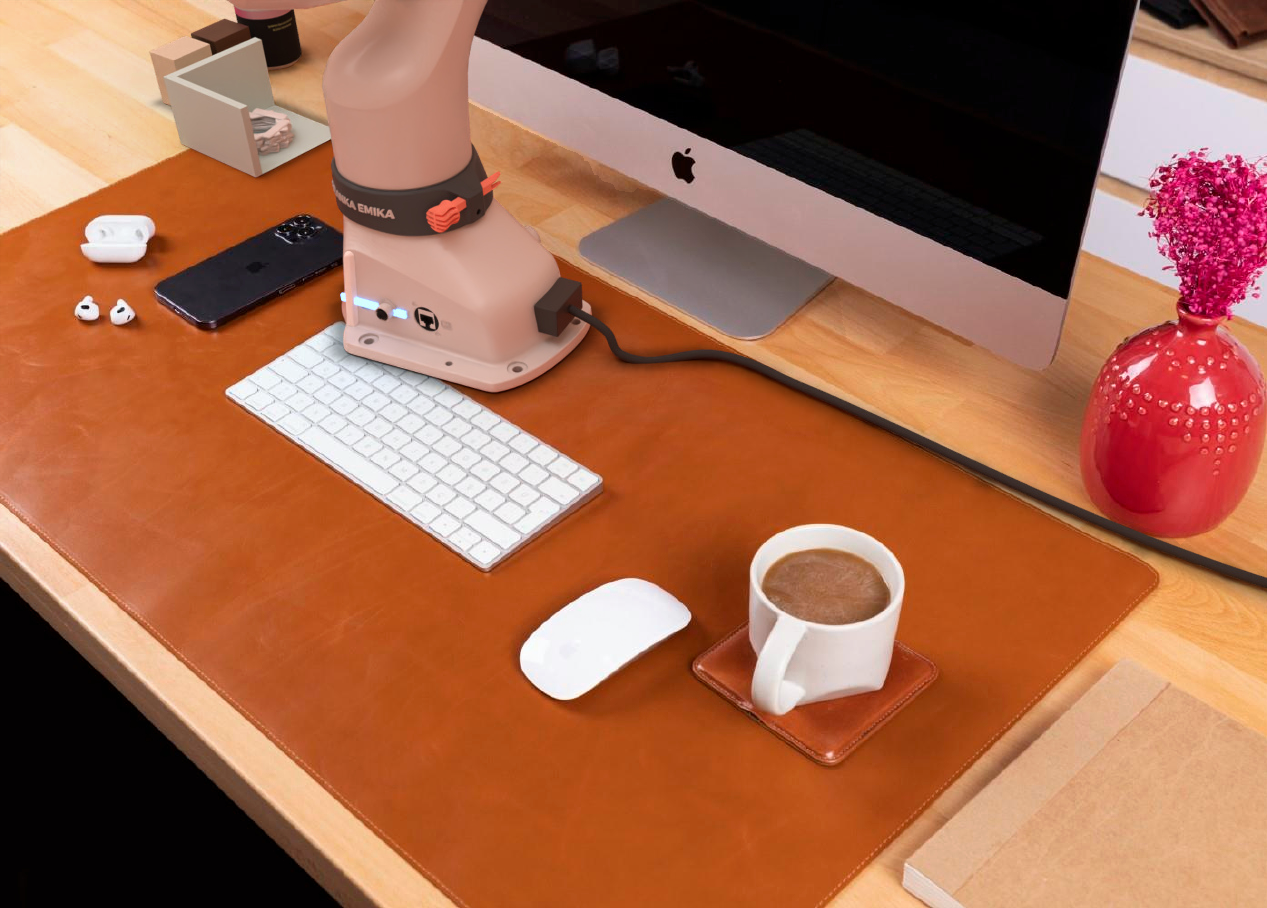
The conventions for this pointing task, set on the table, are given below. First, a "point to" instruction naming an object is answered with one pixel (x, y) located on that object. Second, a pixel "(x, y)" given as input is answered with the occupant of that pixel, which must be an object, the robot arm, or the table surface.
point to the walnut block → (222, 35)
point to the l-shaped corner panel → (238, 112)
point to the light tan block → (177, 59)
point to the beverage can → (273, 34)
